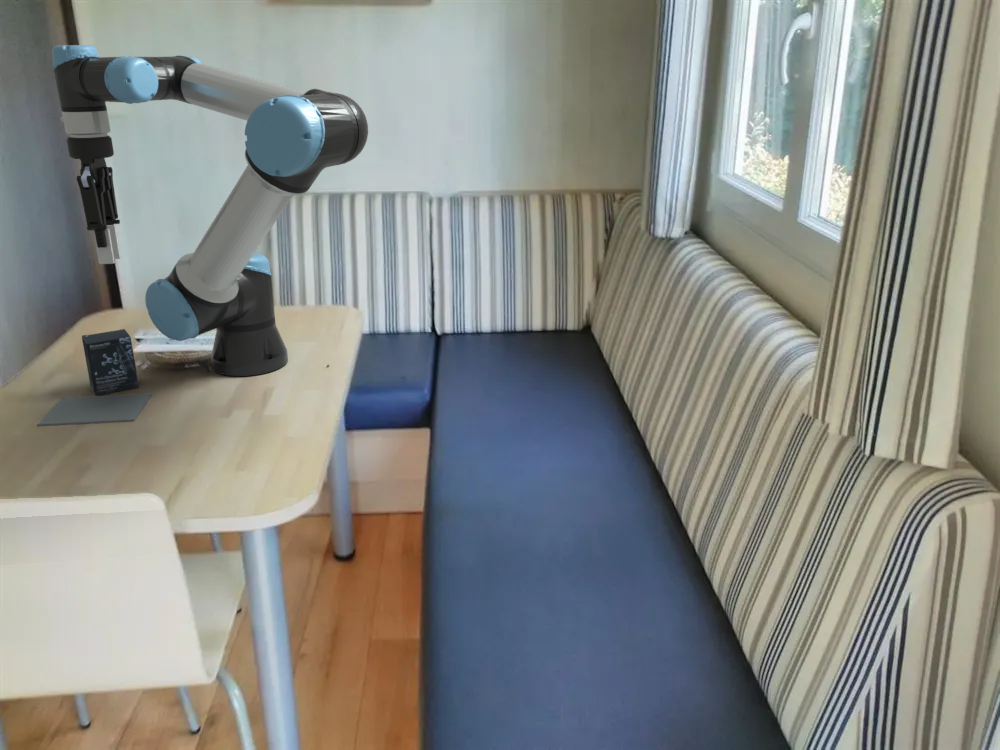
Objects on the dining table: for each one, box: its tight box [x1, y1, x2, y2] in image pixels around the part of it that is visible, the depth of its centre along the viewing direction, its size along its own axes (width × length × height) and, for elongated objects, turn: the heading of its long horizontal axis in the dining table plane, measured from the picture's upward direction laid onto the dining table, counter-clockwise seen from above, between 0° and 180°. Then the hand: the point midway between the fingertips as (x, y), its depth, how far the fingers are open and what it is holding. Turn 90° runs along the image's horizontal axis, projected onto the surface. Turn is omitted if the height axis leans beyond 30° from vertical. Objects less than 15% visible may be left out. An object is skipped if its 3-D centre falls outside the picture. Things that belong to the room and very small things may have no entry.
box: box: [81, 328, 139, 396], centre depth 161 cm, size 8×6×11 cm
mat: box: [37, 393, 152, 427], centre depth 153 cm, size 16×12×1 cm
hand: (109, 260), depth 163 cm, fingers open, 3 cm apart
